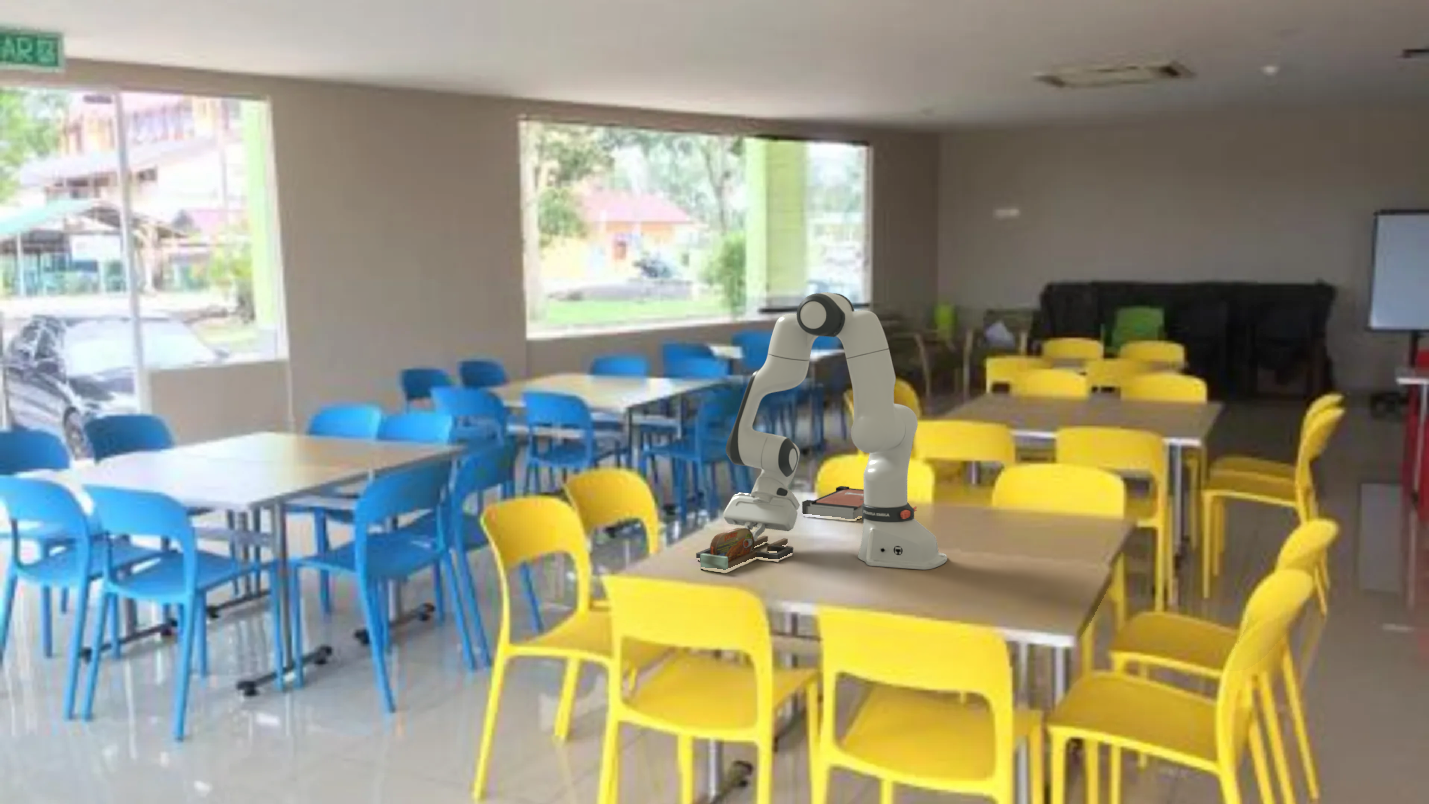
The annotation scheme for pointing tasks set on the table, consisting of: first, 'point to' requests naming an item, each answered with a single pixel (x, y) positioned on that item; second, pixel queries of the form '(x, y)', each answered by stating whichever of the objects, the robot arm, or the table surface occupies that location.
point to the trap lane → (723, 563)
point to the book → (837, 504)
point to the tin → (733, 543)
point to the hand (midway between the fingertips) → (749, 539)
